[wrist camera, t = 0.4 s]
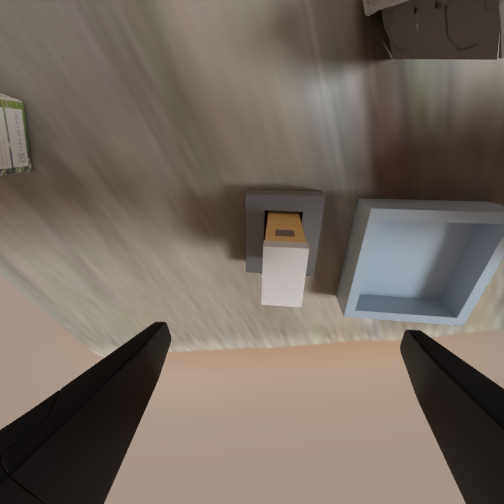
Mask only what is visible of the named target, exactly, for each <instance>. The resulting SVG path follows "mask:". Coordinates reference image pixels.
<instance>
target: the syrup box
mask: <svg viewBox="0 0 504 504" xmlns="http://www.w3.org/2000/svg"><path fill="white" fill-rule="evenodd" d="M30 171H32V165H31V158H30V150H29V143H28V134H27V127H26V119H25V111H24V105H23V102H22V101H20V100H18V99H15V98H12V97H10V96H7V95H4V94H2V93H0V176H3V175H10V174H17V173H24V172H30Z"/></svg>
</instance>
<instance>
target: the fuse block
mask: <svg viewBox="0 0 504 504" xmlns="http://www.w3.org/2000/svg"><path fill="white" fill-rule="evenodd" d="M325 198H326V196H325V195H324V194H323V192H322V191H310V190H272V189H248V190H247V192H246V194H245V217H246V272H253V273H262V268H263V244H264V240H265V210H270V211H299V212H300V221H301V224H302V228H303V232H304V236H305V239H306V242H307V243H308V246H309V254H308V262H307V269H306V276H314V269H315V263H316V257H317V250H318V244H319V237H320V231H321V224H322V218H323V211H324V205H325Z"/></svg>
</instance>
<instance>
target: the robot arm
mask: <svg viewBox="0 0 504 504" xmlns="http://www.w3.org/2000/svg"><path fill="white" fill-rule="evenodd" d="M170 343H171V335H170V332H169V329H168V326H167V323H166V322H155V323H153V324H152V325H150V326H149V327H147V328H146V329H145V330H143V331H142V332H140V333H139V334H138V335H136V336H135V337H133V338H132V339H131V340H129V341H128V342H126V343H125V344H123V345H122V346H121V347H119V348H118V349H116V350H115V351H114V352H112V353H111V354H109V355H108V356H107V357H105V358H104V359H102V360H101V361H100V362H98V363H97V364H95V365H94V366H92V367H91V368H90V369H88V370H87V371H85V372H84V373H83V374H81V375H80V376H78V377H77V378H76V379H74V380H73V381H71V382H70V383H69V384H67V385H66V386H64V387H63V388H62V389H61V390H59V391H57V392H56V393H54V394H53V395H51V396H50V397H49V398H47V399H46V400H44V401H43V402H42V403H40V404H39V405H37V406H36V407H34V408H33V409H31V410H30V411H28V412H27V413H25V414H24V415H22V416H21V417H19V418H18V419H16V420H15V421H13V422H12V423H10V424H9V425H7V426H6V427H4V428H3V429H1V430H0V504H104V502H105V500H106V498H107V495H108V493H109V491H110V488H111V486H112V484H113V482H114V479H115V477H116V475H117V473H118V470H119V468H120V466H121V463H122V461H123V459H124V457H125V454H126V452H127V450H128V448H129V445H130V443H131V441H132V439H133V436H134V434H135V432H136V429H137V427H138V425H139V422H140V420H141V418H142V416H143V413H144V411H145V409H146V407H147V404H148V402H149V400H150V397H151V395H152V392H153V391H154V388H155V386H156V384H157V381H158V379H159V376H160V373H161V370H162V367H163V364H164V361H165V358H166V355H167V352H168V349H169V346H170ZM400 350H401V354H402V357H403V360H404V363H405V365H406V368H407V371H408V374H409V377H410V380H411V383H412V386H413V388H414V391H415V394H416V396H417V399H418V401H419V404H420V406H421V408H422V410H423V412H424V414H425V417H426V419H427V421H428V423H429V425H430V427H431V429H432V432H433V434H434V436H435V438H436V440H437V442H438V445H439V447H440V449H441V451H442V453H443V455H444V457H445V460H446V461H447V464H448V466H449V468H450V470H451V473H452V475H453V477H454V479H455V481H456V483H457V485H458V488H459V490H460V492H461V494H462V496H463V498H464V500H465V503H466V504H504V389H503V388H502V387H500V386H499V385H497V384H496V383H495V382H493V381H492V380H490V379H489V378H487V377H486V376H485V375H483V374H482V373H480V372H479V371H477V370H476V369H475V368H473V367H472V366H470V365H469V364H467V363H466V362H465V361H463V360H462V359H460V358H459V357H457V356H456V355H454V354H453V353H452V352H450V351H449V350H447V349H446V348H445V347H443V346H442V345H440V344H439V343H437V342H436V341H435V340H433V339H432V338H430V337H429V336H427V335H426V334H425V333H423V332H422V331H420V330H406V331H405V332H404V336H403V339H402V342H401V346H400Z"/></svg>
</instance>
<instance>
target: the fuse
mask: <svg viewBox="0 0 504 504" xmlns="http://www.w3.org/2000/svg"><path fill="white" fill-rule="evenodd" d="M308 254H309V246H308V243H307V242H306V239H305V236H304V232H303V228H302V224H301V221H300V217H299V213H298V211H270V210H269V211H268V220H267V228H266V236H265V241H264V244H263V268H262V301H261V305H274V306H288V307H301V306H302V299H303V291H304V284H305V277H306V269H307V262H308Z"/></svg>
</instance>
